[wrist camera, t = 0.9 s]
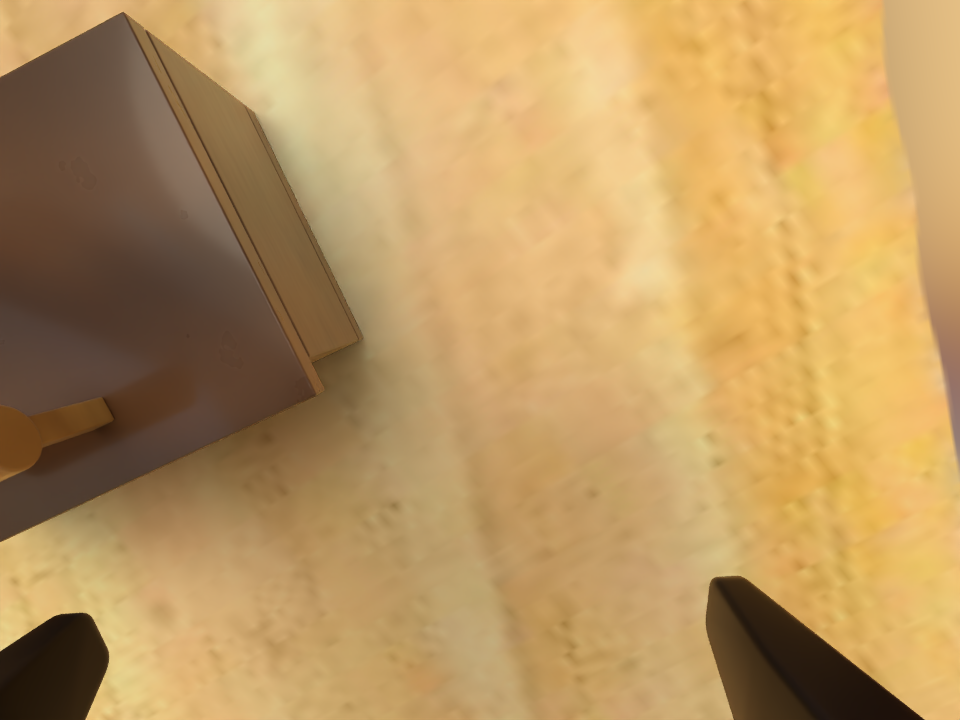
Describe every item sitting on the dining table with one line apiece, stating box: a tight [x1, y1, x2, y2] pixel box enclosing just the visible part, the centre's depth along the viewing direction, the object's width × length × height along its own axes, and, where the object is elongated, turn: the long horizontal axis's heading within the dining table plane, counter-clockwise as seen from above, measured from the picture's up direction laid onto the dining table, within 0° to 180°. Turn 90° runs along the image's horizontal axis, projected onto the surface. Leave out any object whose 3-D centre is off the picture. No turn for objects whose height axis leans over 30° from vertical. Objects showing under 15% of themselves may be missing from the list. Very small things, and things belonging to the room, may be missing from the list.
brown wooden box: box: [145, 30, 363, 363], centre depth 18 cm, size 9×16×6 cm, turn 115°
